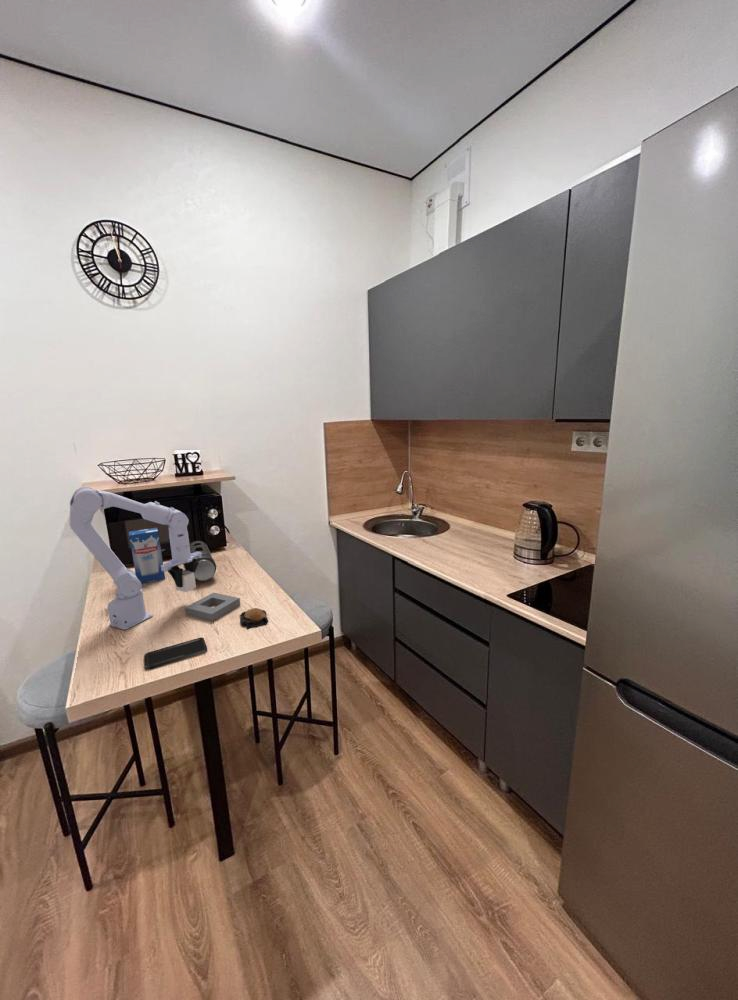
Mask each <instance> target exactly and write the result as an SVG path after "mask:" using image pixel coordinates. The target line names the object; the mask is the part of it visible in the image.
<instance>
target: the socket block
mask: <svg viewBox="0 0 738 1000" xmlns="http://www.w3.org/2000/svg"><path fill="white" fill-rule="evenodd" d="M212 605H214V606H215V607H211V606H212ZM239 606H241V597H236V596H232V595H227V594H222V593H218V592H212V593H210V594H208V595H206V596H204V597H202V598H200V599H198V600H196V601H194V602H192V603H191V604H188V605H187V606H185V607H184V609H185V615H186V616H189V617H193V618H194V617H195V618H198V619H202V620H206V621H209V622H210V621H211V622H214V621H216V620H218V619H219V618H221V617H223V616H224V615H226V614H228V613H229V612H231V611H233V610H234V609H236V608H238V607H239Z"/></svg>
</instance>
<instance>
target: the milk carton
mask: <svg viewBox="0 0 738 1000" xmlns="http://www.w3.org/2000/svg"><path fill="white" fill-rule="evenodd" d="M128 538H129V543H130V548H131V553H132V561H133V565H134V573H135V574H136V577H137V578H138V579H139V580H140V582H141V584H142V585H143V584H148V583H151V582H157V581H162V580H165V579H166V574H165V572H164V571H162V570H161V565H163V564H164V561H163V556H162V549H161V543H160V540H161V539H160V535H159V530H158V527H152V528H144V529H139V530H132V531H128Z"/></svg>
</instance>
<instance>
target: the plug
mask: <svg viewBox="0 0 738 1000" xmlns="http://www.w3.org/2000/svg"><path fill="white" fill-rule="evenodd" d="M182 582H183V586H182V587H177V586H176V583H175V582H174V585H175V590H176V591H179V592H184V593H187V592H189V591H192V590H194V589H196V588H197V586H196V579H195V576H194V572H189V570H185V569H183V572H182Z"/></svg>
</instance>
